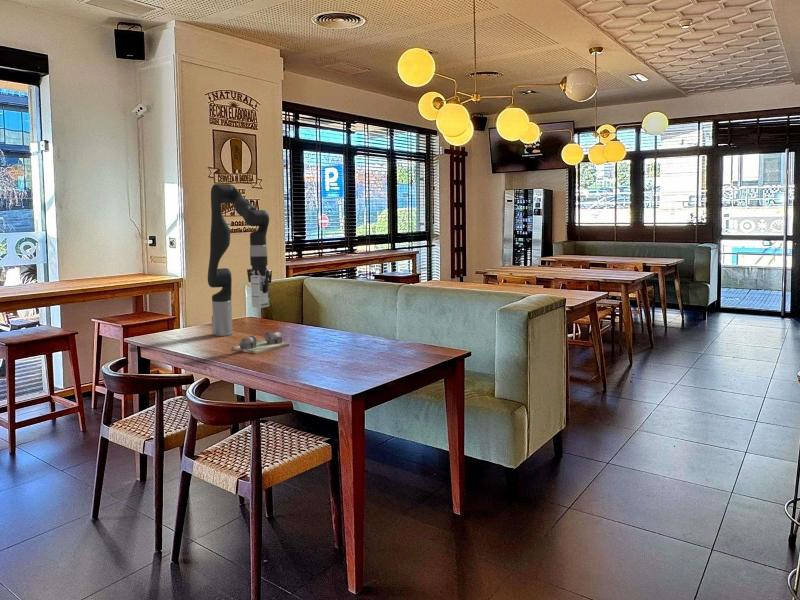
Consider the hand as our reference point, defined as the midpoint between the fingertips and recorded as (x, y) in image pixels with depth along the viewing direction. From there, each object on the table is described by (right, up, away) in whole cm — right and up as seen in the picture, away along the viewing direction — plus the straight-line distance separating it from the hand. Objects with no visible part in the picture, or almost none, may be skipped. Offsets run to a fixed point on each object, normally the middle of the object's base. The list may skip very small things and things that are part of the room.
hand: (260, 292), depth 282 cm
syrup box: (0, -7, +1) cm, 7 cm away
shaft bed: (0, -25, +2) cm, 25 cm away
